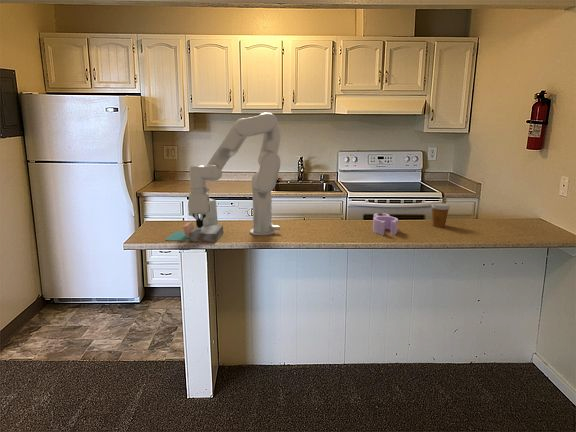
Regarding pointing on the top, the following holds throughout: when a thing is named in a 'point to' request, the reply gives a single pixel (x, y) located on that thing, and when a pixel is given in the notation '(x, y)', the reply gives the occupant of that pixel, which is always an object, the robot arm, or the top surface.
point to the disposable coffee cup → (439, 214)
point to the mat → (178, 236)
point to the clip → (384, 224)
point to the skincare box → (211, 214)
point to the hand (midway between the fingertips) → (199, 227)
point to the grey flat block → (206, 233)
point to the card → (188, 228)
